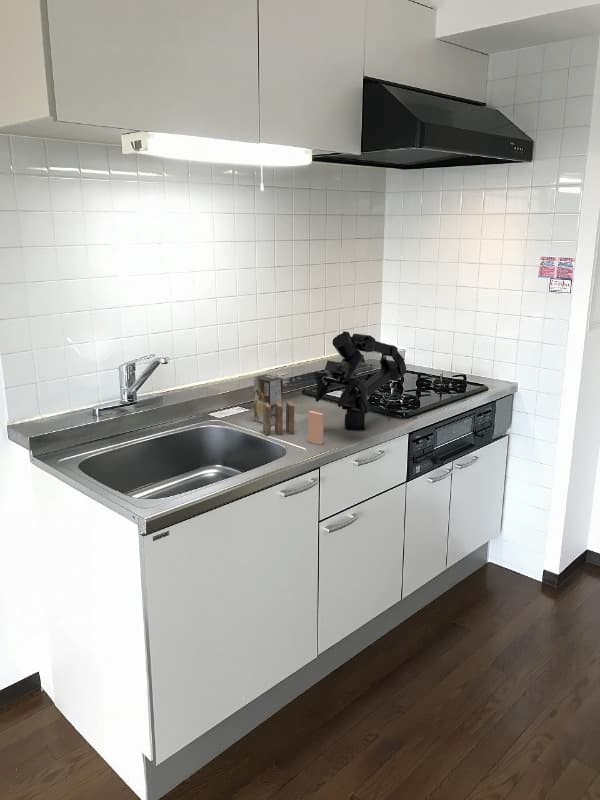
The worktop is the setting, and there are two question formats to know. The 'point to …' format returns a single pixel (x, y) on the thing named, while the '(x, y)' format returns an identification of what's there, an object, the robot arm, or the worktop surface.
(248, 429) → the worktop surface
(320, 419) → the tile
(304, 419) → the worktop surface
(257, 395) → the coffee box
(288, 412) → the walnut tile
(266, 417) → the walnut tile
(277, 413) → the walnut tile
